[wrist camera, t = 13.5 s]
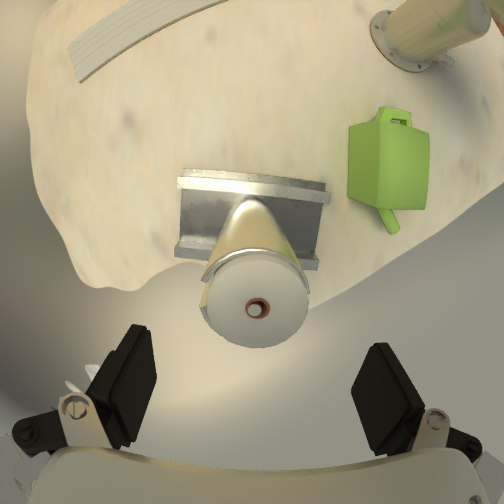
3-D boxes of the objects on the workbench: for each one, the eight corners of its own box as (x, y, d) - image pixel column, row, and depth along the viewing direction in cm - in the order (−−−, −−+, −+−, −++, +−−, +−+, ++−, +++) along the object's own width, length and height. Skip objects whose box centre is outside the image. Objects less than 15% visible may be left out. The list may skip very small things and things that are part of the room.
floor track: (323, 182, 38) (331, 185, 34) (309, 266, 42) (315, 277, 38) (185, 168, 37) (178, 169, 33) (180, 254, 41) (174, 263, 37)
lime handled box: (396, 225, 40) (429, 244, 31) (344, 225, 40) (372, 244, 31) (402, 118, 34) (439, 114, 25) (348, 107, 34) (379, 97, 25)
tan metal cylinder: (246, 186, 37) (243, 226, 13) (283, 214, 38) (337, 298, 14) (218, 222, 38) (173, 317, 14) (254, 249, 40) (263, 371, 16)
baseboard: (68, 41, 28) (83, 83, 32) (60, 37, 25) (74, 80, 29) (220, -41, 24) (249, -5, 28) (218, -49, 21) (249, -14, 25)
